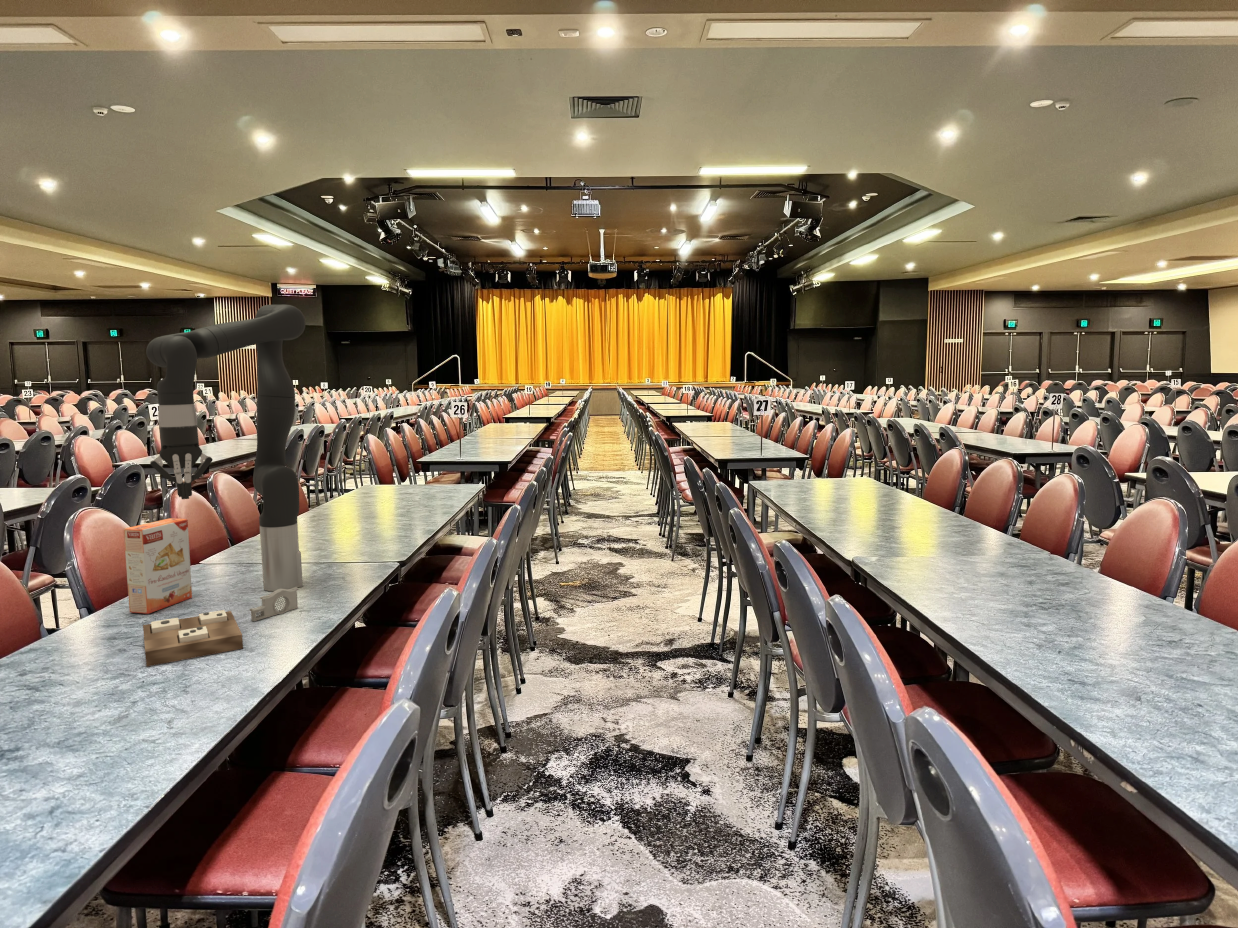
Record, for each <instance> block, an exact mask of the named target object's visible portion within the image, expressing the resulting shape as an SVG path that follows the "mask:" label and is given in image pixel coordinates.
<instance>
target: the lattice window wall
mask: <svg viewBox="0 0 1238 928" xmlns="http://www.w3.org/2000/svg"><path fill="white" fill-rule="evenodd" d="M298 591H299V589H298V587H294V588H292V589H289V590H286V589H278V590H276V591H272V592H271V593H269V594H268V595H262V596H260V597H259V599H260V600H261V605H260V606H256V607H254V608H249V611H250V617H251V618H250V619H251V621H252V622H256V621H260V620H263V619H267V618H269V617H273V616H277V615H282V614H285V613H287V612H289V611H294V610H296V609H298V608H299V603H298Z"/></svg>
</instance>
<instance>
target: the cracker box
mask: <svg viewBox="0 0 1238 928" xmlns="http://www.w3.org/2000/svg"><path fill="white" fill-rule="evenodd" d="M189 537H190V536H189V520H188V519H187V518H173V517H172V518H171V517H169V518H166V519H161V520H156V521H152V522H147V523H143V524H142V523H141V524H139V525H134V526H130V527H129V526H128V527H125V528H123V538H124V550H125V551H124V552H125V555H124V556H125V568H126V580H127V581H126V582H127V594H128V609H129V613H133V614H144V615H149V614H152V613H154V612H157V611H161V610H163V609H165V608H167V607H168V608H169V607H171V606H174V605H176V604H179V603H182V602H185V601H186V600H190V599H192V598H193V592H192V591H193V589H192V587H193V586H192V574H191V573H192V572H191V557H190V555H191V554H190V553H191V552H190V541H189V540H190V539H189Z"/></svg>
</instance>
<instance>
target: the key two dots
mask: <svg viewBox="0 0 1238 928" xmlns="http://www.w3.org/2000/svg"><path fill="white" fill-rule="evenodd" d="M225 612H226V611H225V609H222V610H216V611H210V612H209V611H208V612H203V613H199V614H198V616H199V621H200V625H205V624H211V623H217V622H223V621H227V615H226V613H225Z"/></svg>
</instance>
